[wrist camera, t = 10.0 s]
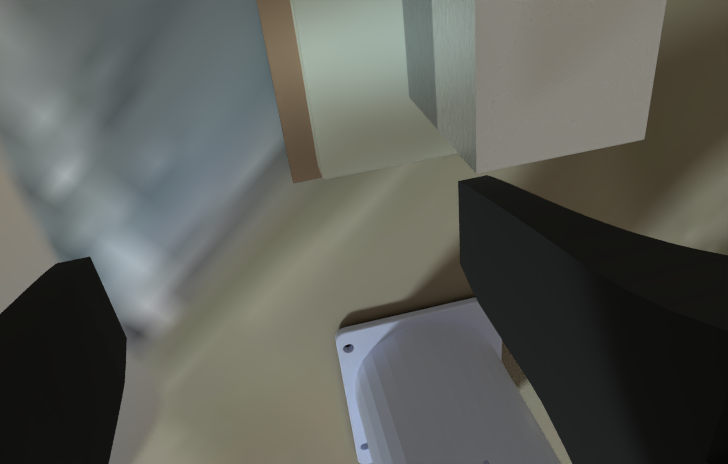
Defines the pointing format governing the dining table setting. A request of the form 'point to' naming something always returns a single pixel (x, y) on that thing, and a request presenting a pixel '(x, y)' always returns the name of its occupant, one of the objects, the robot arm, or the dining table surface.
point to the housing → (532, 74)
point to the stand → (344, 87)
